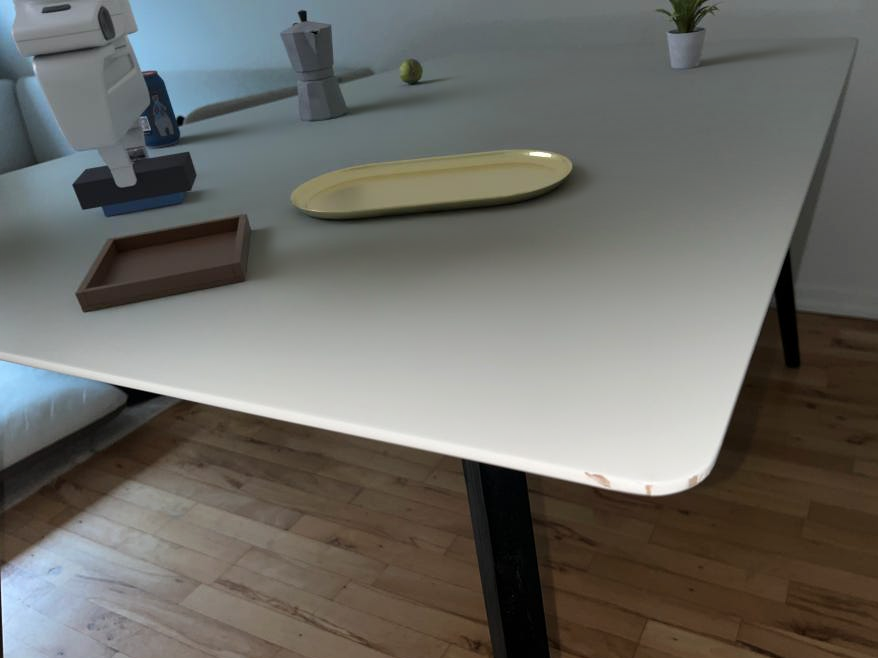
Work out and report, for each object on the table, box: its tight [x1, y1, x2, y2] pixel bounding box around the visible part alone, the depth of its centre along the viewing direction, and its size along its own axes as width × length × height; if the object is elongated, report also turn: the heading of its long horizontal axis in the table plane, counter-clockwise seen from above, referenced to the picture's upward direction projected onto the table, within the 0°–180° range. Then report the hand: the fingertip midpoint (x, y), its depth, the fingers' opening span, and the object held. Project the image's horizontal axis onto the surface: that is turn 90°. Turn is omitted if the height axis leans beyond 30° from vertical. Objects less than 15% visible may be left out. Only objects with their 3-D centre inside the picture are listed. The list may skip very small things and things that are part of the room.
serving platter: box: [289, 148, 574, 220], centre depth 92 cm, size 19×35×2 cm, turn 88°
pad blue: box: [101, 192, 187, 217], centre depth 101 cm, size 10×6×2 cm, turn 103°
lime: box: [398, 58, 424, 85], centre depth 155 cm, size 4×5×5 cm
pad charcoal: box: [71, 151, 198, 211], centre depth 71 cm, size 10×6×2 cm, turn 103°
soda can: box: [140, 70, 181, 149], centre depth 130 cm, size 7×7×12 cm
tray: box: [74, 213, 252, 313], centre depth 79 cm, size 16×16×2 cm
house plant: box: [652, 0, 724, 70], centre depth 135 cm, size 14×14×16 cm
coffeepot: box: [279, 9, 348, 122], centre depth 135 cm, size 15×9×18 cm, turn 26°
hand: (135, 174), depth 71 cm, fingers closed on pad charcoal, 5 cm apart
